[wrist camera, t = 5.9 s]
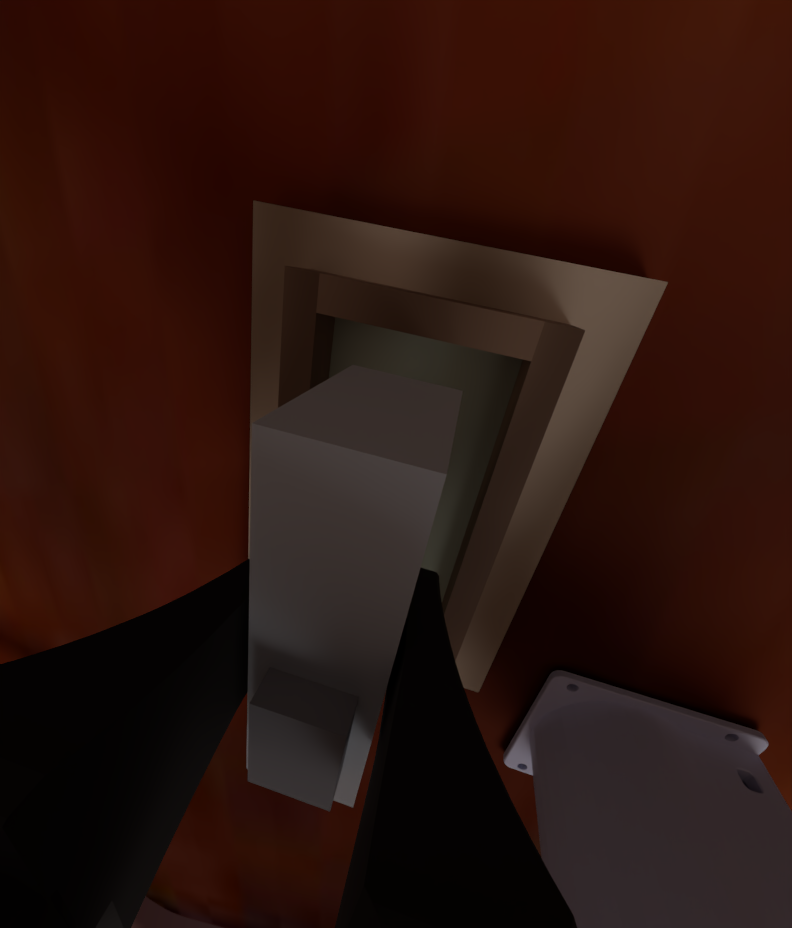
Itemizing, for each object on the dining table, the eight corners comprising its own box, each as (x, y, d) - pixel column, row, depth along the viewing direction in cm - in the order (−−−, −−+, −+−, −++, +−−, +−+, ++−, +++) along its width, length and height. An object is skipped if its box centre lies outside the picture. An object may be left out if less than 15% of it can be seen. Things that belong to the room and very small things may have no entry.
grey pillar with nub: (463, 390, 10) (441, 502, 5) (393, 646, 14) (342, 847, 9) (353, 364, 10) (218, 442, 5) (318, 622, 15) (228, 804, 9)
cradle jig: (650, 283, 11) (703, 280, 8) (478, 670, 19) (478, 731, 16) (273, 207, 12) (215, 185, 10) (259, 600, 20) (226, 647, 18)
